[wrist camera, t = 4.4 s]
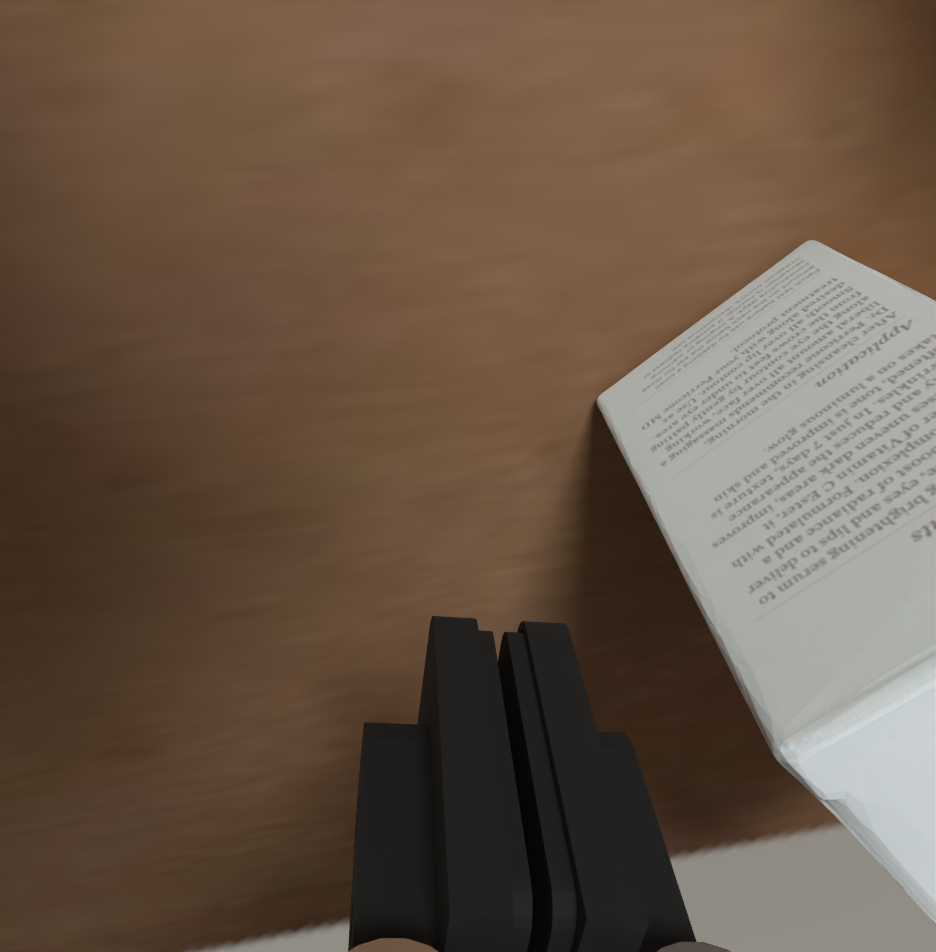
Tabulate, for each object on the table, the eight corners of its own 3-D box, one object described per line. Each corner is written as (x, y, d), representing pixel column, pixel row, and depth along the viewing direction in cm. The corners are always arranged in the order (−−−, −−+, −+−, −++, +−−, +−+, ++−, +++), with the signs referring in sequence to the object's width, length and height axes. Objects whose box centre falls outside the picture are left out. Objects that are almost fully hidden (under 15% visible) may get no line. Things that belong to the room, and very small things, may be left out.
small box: (965, 488, 20) (1447, 879, 11) (764, 615, 22) (1039, 1058, 12) (810, 224, 17) (1309, 462, 8) (585, 393, 18) (775, 769, 9)
